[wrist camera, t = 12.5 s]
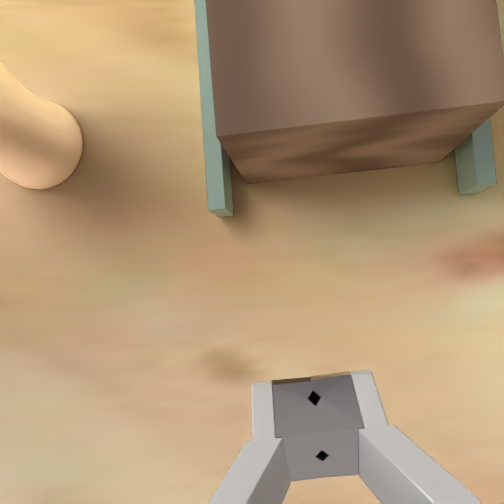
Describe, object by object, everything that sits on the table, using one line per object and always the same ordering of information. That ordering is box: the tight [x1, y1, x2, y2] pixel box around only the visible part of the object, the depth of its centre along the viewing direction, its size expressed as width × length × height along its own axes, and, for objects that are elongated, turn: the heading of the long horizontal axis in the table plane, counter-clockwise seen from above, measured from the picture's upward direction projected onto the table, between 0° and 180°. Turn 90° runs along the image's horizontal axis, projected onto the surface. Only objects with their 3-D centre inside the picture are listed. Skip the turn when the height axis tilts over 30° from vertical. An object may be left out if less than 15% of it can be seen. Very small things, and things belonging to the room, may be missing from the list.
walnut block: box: [205, 0, 504, 184], centre depth 24 cm, size 12×12×10 cm
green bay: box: [194, 0, 497, 217], centre depth 25 cm, size 16×16×8 cm
